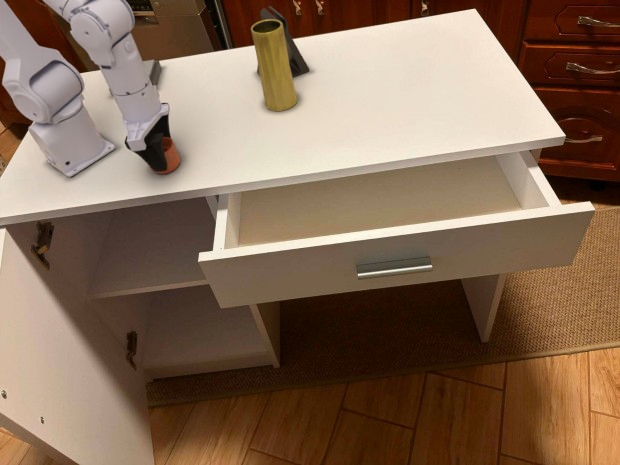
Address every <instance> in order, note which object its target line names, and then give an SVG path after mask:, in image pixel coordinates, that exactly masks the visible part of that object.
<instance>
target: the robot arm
mask: <svg viewBox="0 0 620 465" xmlns="http://www.w3.org/2000/svg"><path fill="white" fill-rule="evenodd" d="M42 1H43V2H44V3H45V4H46V5H47V6H48V7H49V8H50V9H52V10H53V11H54V12H55V13H57V14H58V15H59V16H60V17H62V18H63V19H64V20H65V21H66V22H67V23H68V24H69V25H70V29H71V30H70V31H69V33H70V34H71V36H72V38H73V39H74V41H76V42H77V44H78V45H79V46H80V47H81V48H83V49H84V50H85V52H87V54H88V57H89V58H90V60H91V61H93V63H94V64H95V65H96V66H98V68H99V70H100V73H101V74H102V76H103V78H104V80H105V83H106V85H107V86H108V90H109V89H110V90H109V92H110V91H111V92H110V94H111V93H112V94H111V96H112V95H113V96H112V97H113V100H114V101H115V103H116V105H117V107H118V109H119V111H120V114H121V118H122V122H123V125H124V129H125V132H126V136H125V139H124V145H125V148H126V149H127V150H129V151H131V152H133V153H134V154H136V155H137V156H139V157H140V158H141V159H142V160H143V161H144V162H145V163H146V164H147V165H148V166H149V168H150V167H151V168H152V169H153V170H154V171H155V172H154V171H153V172H154V173H156V172H159V171H166V170H167V161H166V157H165V154H164V149H163V137H169V138H171V139H172V136H171V130H170V117H169V116H170V111H171V108H170V104H169V103H168V102H161V100H160V98H161V97H160V96H161V95H160V92H159V90H158V87H157V86H156V85H154V86H152V83H151V81H150V78H149V76H148V73H147V71H146V68H145V66H144V63H143V61H144V60H143V58H142V56H141V53H140V51H139V50H138V46H137V43H136V41H135V39H134V37H133V34H132V32H131V31H132V30H133V29H134V27H135V23H136V19H135V15H134V12H133V10H132V7H131V6H130V4H129V3H128V1H127V0H42ZM0 57H1V59H3V60H4V62H5V67H4V71H3V77H2V80H1V81H2V82H1V85H2V86H3V87H4V89H5V90H6V92H7V93H8V95H9V97H11V99H12V102H13V104H14V106H15V107H16V109H17V110H18V111H19V112H20V114H22V116H24V117H25V118H27V119H29V120H30V121H32V122H33V123H32V124H30V125H29V126H28V128H27V129H28V132H29V134H30V136H31V137H32V139H33V140H34V142H35V143H36V144H37V146H38V147H39V149H40V150H41V152H42V153H43V155H44V157H45V158H46V160H47V162H48V163H49V164H50V165H52V166H53V167H54V168H56V169H57V170H58V171H59V172H61V173H62V174H64V175H65V176H67V177H68V178H72V177H74V176H75V175H76V174H78V173H79V172H81V171H82V170H84V169H85V168H88V167H89V166H90V165H92V164H94V163H95V162H97V161H98V160H100V159H102V158H103V157H105V156H106V155H108V154H109V153H111V152H112V151H114V150H115V149H116V145H115V144H113V143H111V142H110V141H109V140H106V139H105V138H103V137H102V136H101V134H100V132H99V130H98V128H97V126H96V125H95V122H94V121H93V119H92V117H91V116H90V113H89V112H88V110H87V108H86V106H85V104H84V100H85V96H84V94H83V92H84V91H85V88H86V87H85V81H84V79H83V77H82V75H81V73H80V72H79V70H78V69H77V68H76V67H75V66H73V65H72V64H71V63H70V62H68V61H67V60H66V59H65V57H63V55H62V54H61V52H60V51H59V50H57V49H55V48H50V47H45V46H41V45H39V44H38V43H37V42H36V41H35V38H33V36H32V35H31V34H30V32H29V31H28V30H27V28H26V27H25V26H24V25H23V24H22V22H21V21H20V19H19V18H18V17H17V15H16V14H15V13H14V11H13V10H12V9H11V7H10V6H9V4H8V3H7V2H6V1H5V0H0ZM151 168H150V169H151Z"/></svg>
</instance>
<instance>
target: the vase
mask: <svg viewBox="0 0 620 465" xmlns="http://www.w3.org/2000/svg"><path fill="white" fill-rule="evenodd" d="M250 31H251V36H252V41H253V46H254V50H255V54H256V55H255V56H256V60H257V67H258V66H259V71H260V75H259V77H260V83H261V89H262V93H263V98H264V106H265V107H266V109H268V110H270V111H274V112H283V111H287V110H289V109H291V108H293V107H294V106H296V104H297V103H298V100H299V98H298V95H297V91H296V87H295V83H294V77H293V78H292V74H291V70H290V66H289V59H288V53H287V47H286V41H285V35H284V28H283V24H282V22H281V21H279V20H276V19H266V20H260V21H257V22H255V23H253V24H252V26H251V27H250Z"/></svg>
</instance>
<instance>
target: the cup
mask: <svg viewBox="0 0 620 465" xmlns="http://www.w3.org/2000/svg"><path fill="white" fill-rule="evenodd" d="M163 149H164V154H165V157H166V161H167V170H166V171H159V172H155V171H154V170H153V169H152V168H151V167H150V166H149V168H150V170H151V171H152V172H153V173H156V174H159V175H166V174H170V173H172V172H174V171H175V170H176V169H177V168H178V167H179V165H180V162H181V160H182V159H181V156H180V154H179V152H178V150H177V147H176V145H175V142H174V140H173V139H172V137H171V138H169V137H163Z"/></svg>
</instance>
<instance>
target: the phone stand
mask: <svg viewBox="0 0 620 465" xmlns="http://www.w3.org/2000/svg"><path fill="white" fill-rule="evenodd" d="M267 8H268V9H269V10H270V11H271V12H272V13H273V14H272V13H271V12H269V10H268V9H266V8H265V7H262V9H261V11H260V15H259V18H260V21H262V20H266V19H276V20H279V21H281V22H282V24H283V28H284V35H285V41H286V47H287V53H288V59H289V66H290V70H291V74H292V78H293V79H294V78H296V77H299V76H301V75H304V74H307V73H308V72H310V68H309V65H308V64H307V63H306V60H305V59H304V57H303V56H302V53H301V52H300V49H299V48H298V46H297V45H296V43H295V40H294V38H293V37H292V36H291V34H290V31H289V24H288V23H289V22H288V20H287V18H285V17H284V16H283V15H282V14H281V13H280V12H278V11H277V10H276V9H274V7H272V6H270V5H268V6H267ZM256 74H258V76H260V71H259V66H258V65H257V67H256Z"/></svg>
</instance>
